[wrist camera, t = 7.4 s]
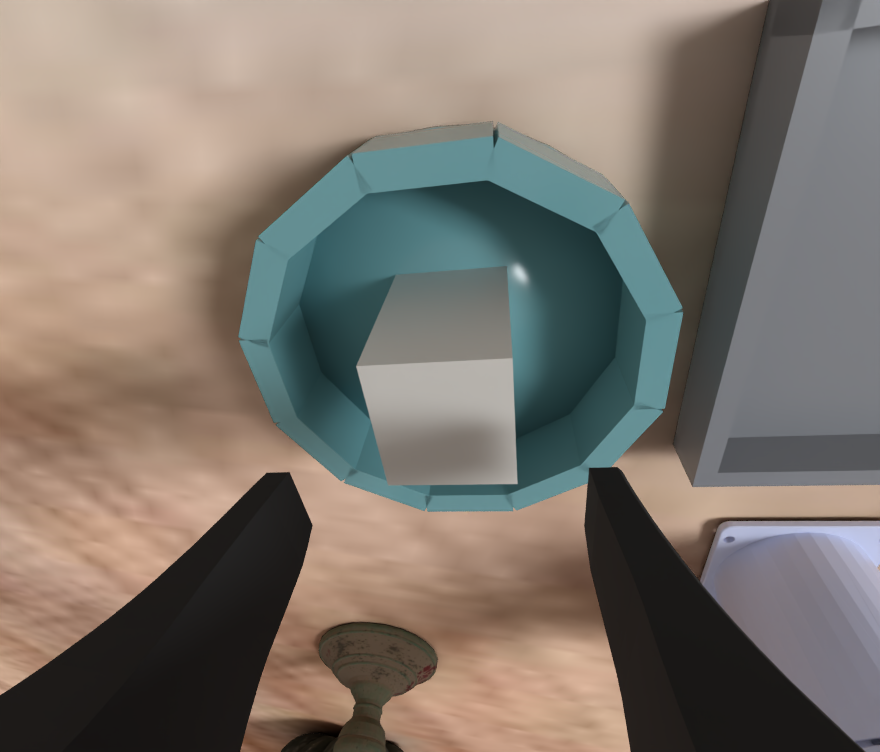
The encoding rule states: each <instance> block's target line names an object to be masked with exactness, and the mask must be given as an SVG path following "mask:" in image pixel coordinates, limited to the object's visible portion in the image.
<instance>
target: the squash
mask: <svg viewBox="0 0 880 752" xmlns="http://www.w3.org/2000/svg"><path fill="white" fill-rule="evenodd" d="M337 740H338V737H337V738H335V737H331V736H328V735H326V734H322V733H308V734H303V735H301V736H299V737H296V738H295V739H293V740H292V741H290V742H289V743H288V744H287V745H286V746H285V747H284V748H283V749H282V750H281V752H333V748H334V745H335V743H336V741H337ZM385 749H386V752H403V751H402V750H401V749H400V748H399V747H397V746H395V745H393V744H391V743H385Z"/></svg>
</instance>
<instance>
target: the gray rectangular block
mask: <svg viewBox="0 0 880 752" xmlns="http://www.w3.org/2000/svg"><path fill="white" fill-rule="evenodd" d="M356 367H357V371H358V375H359V379H360V382H361V386H362V390H363V394H364V397H365V401H366V405H367V408H368V412H369V416H370V420H371V423H372V427H373V431H374V434H375V438H376V442H377V446H378V449H379V453H380V457H381V461H382V464H383V468H384V472H385V475H386V479H387V483H388V485H473V484H517V459H516V433H515V408H514V382H513V357H512V341H511V325H510V309H509V294H508V278H507V266H501V267H488V268H476V269H463V270H450V271H438V272H425V273H413V274H400V275H396V276H395V278H394V281H393V283H392V285H391V287H390V290H389V292H388V294H387V297H386V299H385V301H384V303H383V306H382V308H381V310H380V313H379V315H378V317H377V320H376V322H375V324H374V326H373V329H372V331H371V333H370V336H369V338H368V340H367V342H366V345H365V347H364V349H363V352H362V354H361V356H360V359H359V361H358V363H357V365H356Z"/></svg>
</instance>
